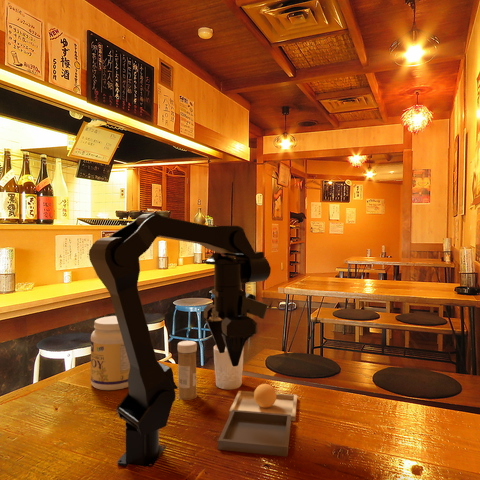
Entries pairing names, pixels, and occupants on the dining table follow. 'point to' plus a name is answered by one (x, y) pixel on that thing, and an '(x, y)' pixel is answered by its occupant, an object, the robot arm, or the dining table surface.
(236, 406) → the tray
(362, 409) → the dining table surface
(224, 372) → the white cup
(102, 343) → the supplement tub
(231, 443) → the dish
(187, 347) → the sprinkles bottle
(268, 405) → the ball
